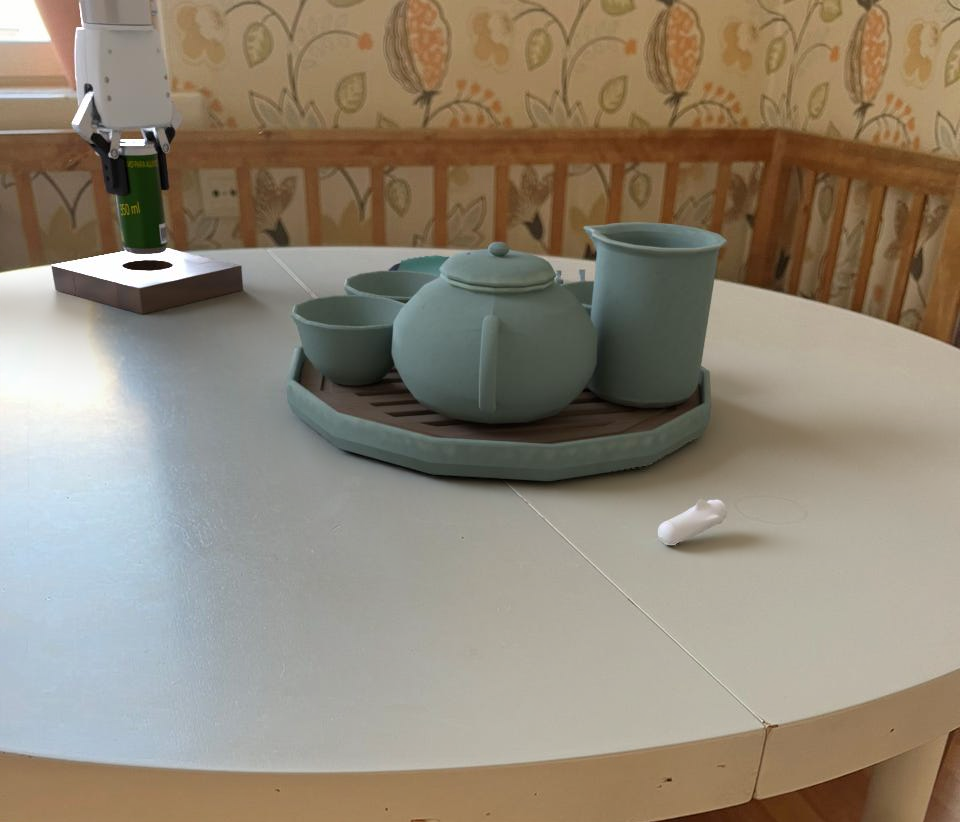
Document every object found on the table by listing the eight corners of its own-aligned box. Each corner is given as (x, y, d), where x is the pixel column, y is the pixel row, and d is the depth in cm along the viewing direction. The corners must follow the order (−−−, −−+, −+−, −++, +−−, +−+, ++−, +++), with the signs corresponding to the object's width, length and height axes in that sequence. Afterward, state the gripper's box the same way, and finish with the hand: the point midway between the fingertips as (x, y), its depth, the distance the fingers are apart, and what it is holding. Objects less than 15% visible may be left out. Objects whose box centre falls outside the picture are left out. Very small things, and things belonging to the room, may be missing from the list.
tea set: (602, 335, 122) (618, 182, 113) (789, 466, 90) (831, 267, 81) (257, 353, 110) (245, 185, 102) (330, 510, 78) (322, 285, 70)
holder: (55, 290, 128) (50, 264, 127) (157, 269, 140) (155, 245, 138) (142, 314, 121) (139, 288, 119) (243, 290, 132) (241, 265, 131)
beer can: (171, 246, 130) (160, 140, 124) (164, 255, 126) (152, 146, 119) (127, 245, 130) (113, 138, 123) (118, 254, 125) (104, 144, 119)
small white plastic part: (640, 529, 78) (645, 490, 76) (717, 527, 79) (724, 489, 77) (652, 551, 75) (658, 511, 73) (732, 549, 76) (740, 510, 74)
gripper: (155, 13, 122) (172, 180, 132) (27, 11, 110) (56, 195, 120) (199, 16, 119) (214, 187, 129) (72, 15, 107) (99, 204, 116)
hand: (138, 189), depth 124 cm, fingers closed on beer can, 5 cm apart
